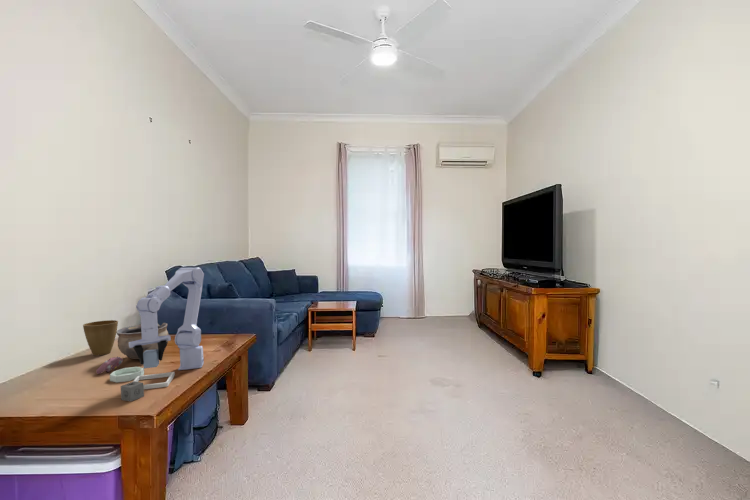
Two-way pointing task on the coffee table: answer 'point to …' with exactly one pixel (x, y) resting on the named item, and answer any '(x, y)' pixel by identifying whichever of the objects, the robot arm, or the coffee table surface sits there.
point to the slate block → (151, 358)
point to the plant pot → (100, 336)
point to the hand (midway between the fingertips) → (151, 361)
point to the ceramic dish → (126, 374)
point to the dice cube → (132, 391)
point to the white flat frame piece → (156, 385)
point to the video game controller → (107, 365)
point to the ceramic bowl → (135, 334)
